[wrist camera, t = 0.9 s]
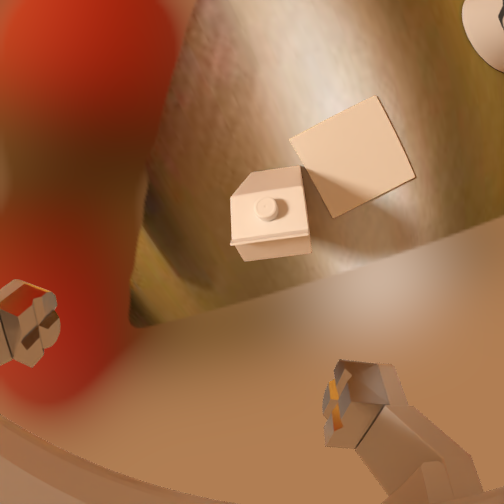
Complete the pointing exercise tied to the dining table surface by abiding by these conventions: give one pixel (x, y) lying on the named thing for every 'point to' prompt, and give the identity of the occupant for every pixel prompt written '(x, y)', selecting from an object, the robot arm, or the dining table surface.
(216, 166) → the dining table surface
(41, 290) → the robot arm
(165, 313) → the dining table surface
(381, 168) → the mat
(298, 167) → the milk carton
